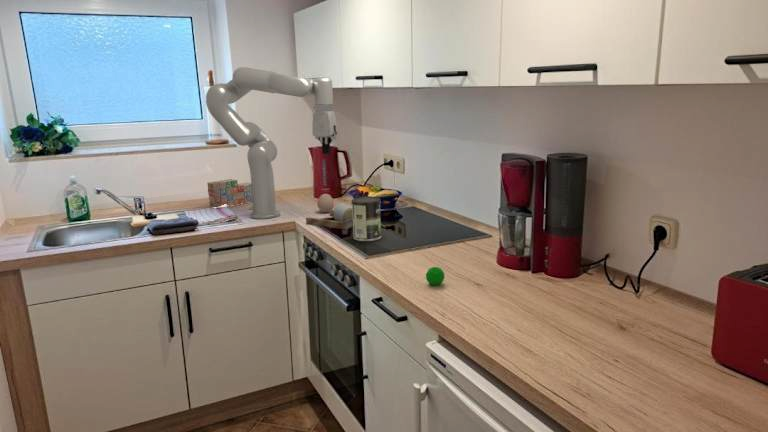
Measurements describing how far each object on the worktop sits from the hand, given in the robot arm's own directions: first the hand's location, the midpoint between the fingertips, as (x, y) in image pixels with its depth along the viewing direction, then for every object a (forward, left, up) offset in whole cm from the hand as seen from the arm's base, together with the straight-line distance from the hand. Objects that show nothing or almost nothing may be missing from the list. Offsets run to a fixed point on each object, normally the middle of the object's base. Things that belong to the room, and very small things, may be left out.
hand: (326, 153), depth 228 cm
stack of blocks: (-57, -2, -27) cm, 63 cm away
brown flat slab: (+11, -8, -27) cm, 30 cm away
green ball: (+79, -53, -27) cm, 99 cm away
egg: (-5, +4, -27) cm, 28 cm away
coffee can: (+35, -22, -27) cm, 49 cm away
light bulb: (+15, -7, -27) cm, 32 cm away
